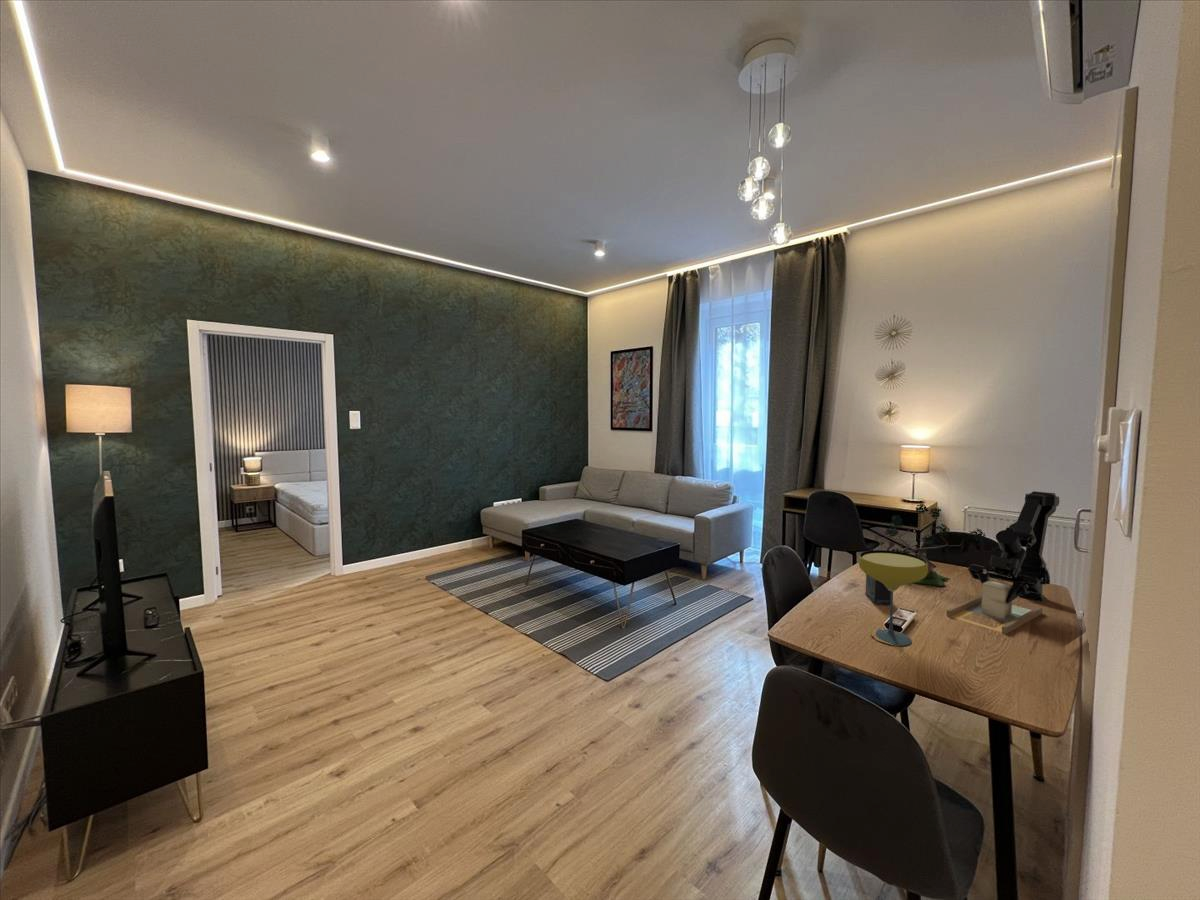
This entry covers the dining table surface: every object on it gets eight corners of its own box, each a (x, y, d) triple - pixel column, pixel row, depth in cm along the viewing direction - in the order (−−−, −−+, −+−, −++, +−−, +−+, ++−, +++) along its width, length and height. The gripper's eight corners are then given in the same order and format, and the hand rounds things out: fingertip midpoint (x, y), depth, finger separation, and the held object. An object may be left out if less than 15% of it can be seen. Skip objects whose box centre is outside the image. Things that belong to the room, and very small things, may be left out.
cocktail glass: (844, 632, 155) (845, 554, 153) (883, 621, 162) (885, 547, 160) (899, 657, 138) (900, 571, 136) (940, 644, 145) (942, 561, 144)
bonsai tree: (872, 581, 199) (873, 504, 196) (887, 566, 216) (888, 496, 214) (980, 603, 175) (983, 515, 172) (988, 584, 192) (990, 504, 190)
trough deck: (984, 602, 175) (984, 592, 175) (1041, 617, 161) (1042, 607, 161) (946, 620, 161) (946, 609, 161) (1005, 638, 148) (1006, 627, 147)
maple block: (989, 608, 166) (990, 579, 165) (1011, 614, 161) (1012, 584, 160) (981, 612, 163) (982, 583, 162) (1003, 618, 158) (1004, 588, 157)
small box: (894, 606, 174) (894, 577, 173) (874, 605, 175) (874, 576, 175) (883, 595, 184) (883, 567, 184) (864, 594, 186) (865, 567, 185)
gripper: (971, 541, 170) (954, 578, 166) (1040, 553, 154) (1023, 595, 150) (981, 559, 175) (965, 595, 170) (1048, 573, 159) (1033, 614, 154)
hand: (994, 599), depth 161 cm, fingers closed on maple block, 6 cm apart
